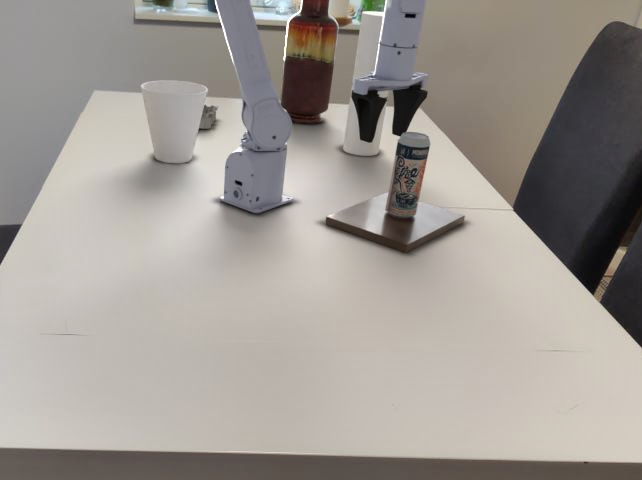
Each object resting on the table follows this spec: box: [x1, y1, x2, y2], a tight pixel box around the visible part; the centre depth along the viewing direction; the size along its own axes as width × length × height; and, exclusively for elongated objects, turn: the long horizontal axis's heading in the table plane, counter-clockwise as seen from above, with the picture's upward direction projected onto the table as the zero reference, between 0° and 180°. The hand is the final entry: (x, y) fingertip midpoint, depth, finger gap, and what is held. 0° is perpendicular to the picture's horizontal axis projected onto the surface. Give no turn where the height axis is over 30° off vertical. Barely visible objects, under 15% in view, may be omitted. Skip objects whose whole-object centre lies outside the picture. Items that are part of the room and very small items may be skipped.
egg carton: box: [199, 104, 219, 130], centre depth 152 cm, size 11×8×4 cm
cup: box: [139, 79, 209, 164], centre depth 127 cm, size 12×12×12 cm
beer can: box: [385, 131, 432, 218], centre depth 106 cm, size 5×5×12 cm
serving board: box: [324, 191, 466, 253], centre depth 109 cm, size 18×14×1 cm
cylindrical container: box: [342, 10, 390, 157], centre depth 136 cm, size 7×7×25 cm
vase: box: [279, 0, 339, 125], centre depth 155 cm, size 11×11×26 cm
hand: (382, 138), depth 111 cm, fingers open, 7 cm apart
